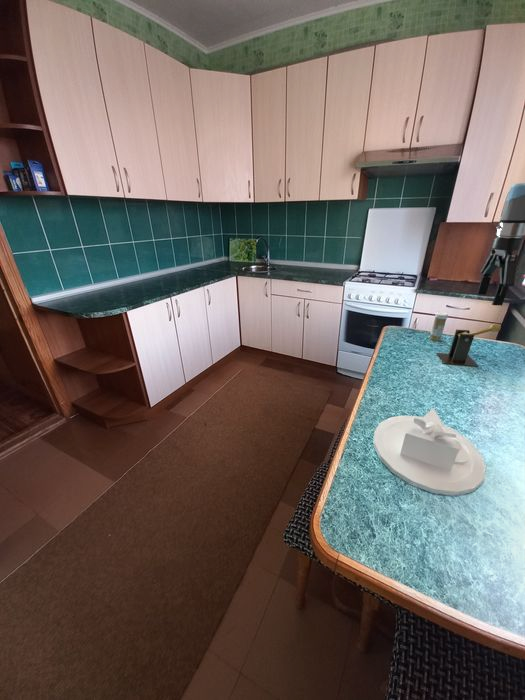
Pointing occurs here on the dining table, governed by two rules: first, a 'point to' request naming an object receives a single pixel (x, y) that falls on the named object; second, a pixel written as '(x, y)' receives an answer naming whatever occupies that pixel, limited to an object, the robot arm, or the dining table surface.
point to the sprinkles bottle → (438, 326)
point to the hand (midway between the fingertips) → (488, 299)
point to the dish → (429, 454)
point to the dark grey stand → (459, 350)
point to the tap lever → (485, 330)
